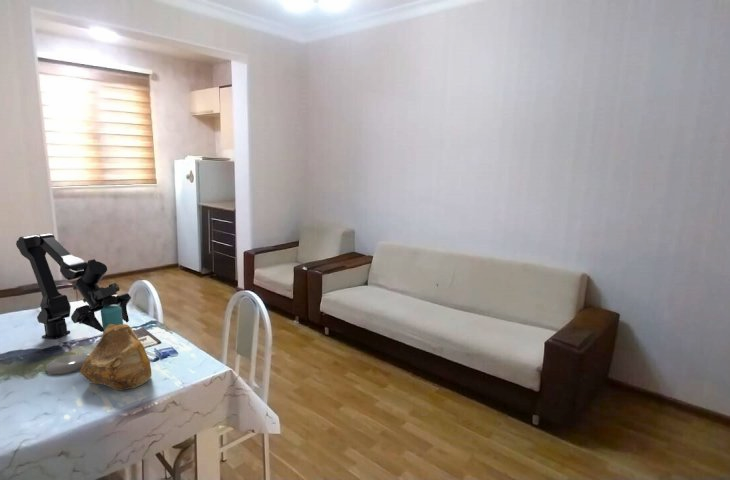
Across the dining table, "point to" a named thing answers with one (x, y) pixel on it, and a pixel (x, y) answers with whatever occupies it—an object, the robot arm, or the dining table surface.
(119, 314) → the beverage bottle
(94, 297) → the robot arm
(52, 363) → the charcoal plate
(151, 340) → the chocolate bar
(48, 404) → the dining table surface
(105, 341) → the rough brown rock
